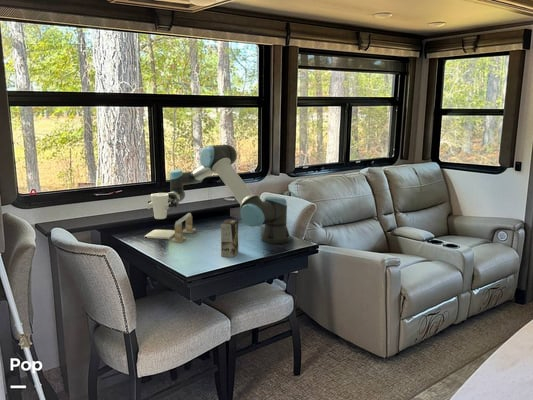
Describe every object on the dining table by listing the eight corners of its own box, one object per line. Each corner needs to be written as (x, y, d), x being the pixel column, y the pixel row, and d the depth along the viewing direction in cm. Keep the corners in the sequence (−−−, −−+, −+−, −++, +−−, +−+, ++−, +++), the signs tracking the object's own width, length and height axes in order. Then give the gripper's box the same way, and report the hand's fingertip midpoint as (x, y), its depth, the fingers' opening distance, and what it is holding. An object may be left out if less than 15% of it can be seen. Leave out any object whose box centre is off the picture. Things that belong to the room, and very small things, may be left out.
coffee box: (234, 257, 215) (233, 224, 212) (220, 256, 216) (220, 223, 213) (239, 251, 224) (238, 219, 220) (226, 250, 225) (225, 219, 222)
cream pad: (178, 232, 259) (177, 230, 259) (169, 238, 245) (169, 237, 245) (154, 231, 261) (154, 229, 261) (144, 237, 247) (144, 236, 247)
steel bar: (188, 215, 260) (188, 212, 260) (191, 215, 260) (191, 213, 260) (175, 224, 239) (175, 222, 239) (178, 224, 239) (178, 222, 238)
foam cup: (151, 216, 255) (150, 193, 252) (168, 215, 257) (167, 192, 255) (152, 220, 246) (151, 196, 243) (169, 219, 248) (169, 195, 246)
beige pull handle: (185, 230, 263) (185, 215, 261) (195, 230, 262) (195, 215, 260) (171, 241, 240) (171, 224, 239) (182, 242, 240) (182, 225, 238)
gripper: (189, 206, 267) (176, 214, 245) (153, 204, 270) (137, 212, 248) (189, 193, 265) (176, 200, 243) (153, 192, 268) (137, 199, 247)
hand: (156, 207), depth 246 cm, fingers closed on foam cup, 9 cm apart
